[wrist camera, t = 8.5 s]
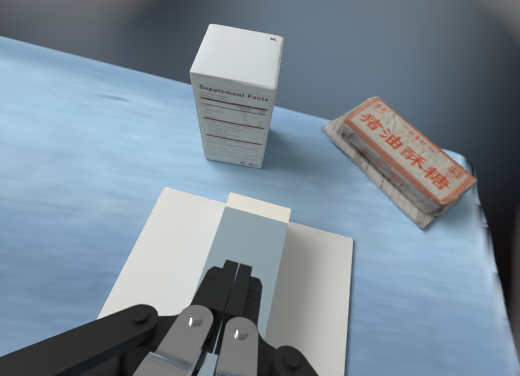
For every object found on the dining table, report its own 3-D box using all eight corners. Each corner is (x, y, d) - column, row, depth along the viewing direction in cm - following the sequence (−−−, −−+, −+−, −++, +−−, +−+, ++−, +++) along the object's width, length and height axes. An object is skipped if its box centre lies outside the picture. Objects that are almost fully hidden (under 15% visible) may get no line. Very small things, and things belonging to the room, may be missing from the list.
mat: (-7, 528, 16) (-13, 533, 15) (165, 188, 28) (164, 186, 28) (323, 635, 15) (326, 643, 15) (351, 239, 28) (353, 238, 27)
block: (168, 367, 17) (230, 192, 23) (180, 357, 21) (230, 210, 27) (253, 392, 17) (291, 208, 23) (248, 377, 20) (282, 224, 27)
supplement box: (216, 117, 34) (209, 20, 23) (269, 127, 34) (287, 35, 23) (203, 160, 30) (186, 70, 19) (261, 171, 31) (278, 87, 20)
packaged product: (494, 172, 29) (448, 217, 25) (460, 191, 33) (417, 232, 29) (379, 80, 34) (329, 106, 31) (363, 106, 39) (318, 132, 35)
